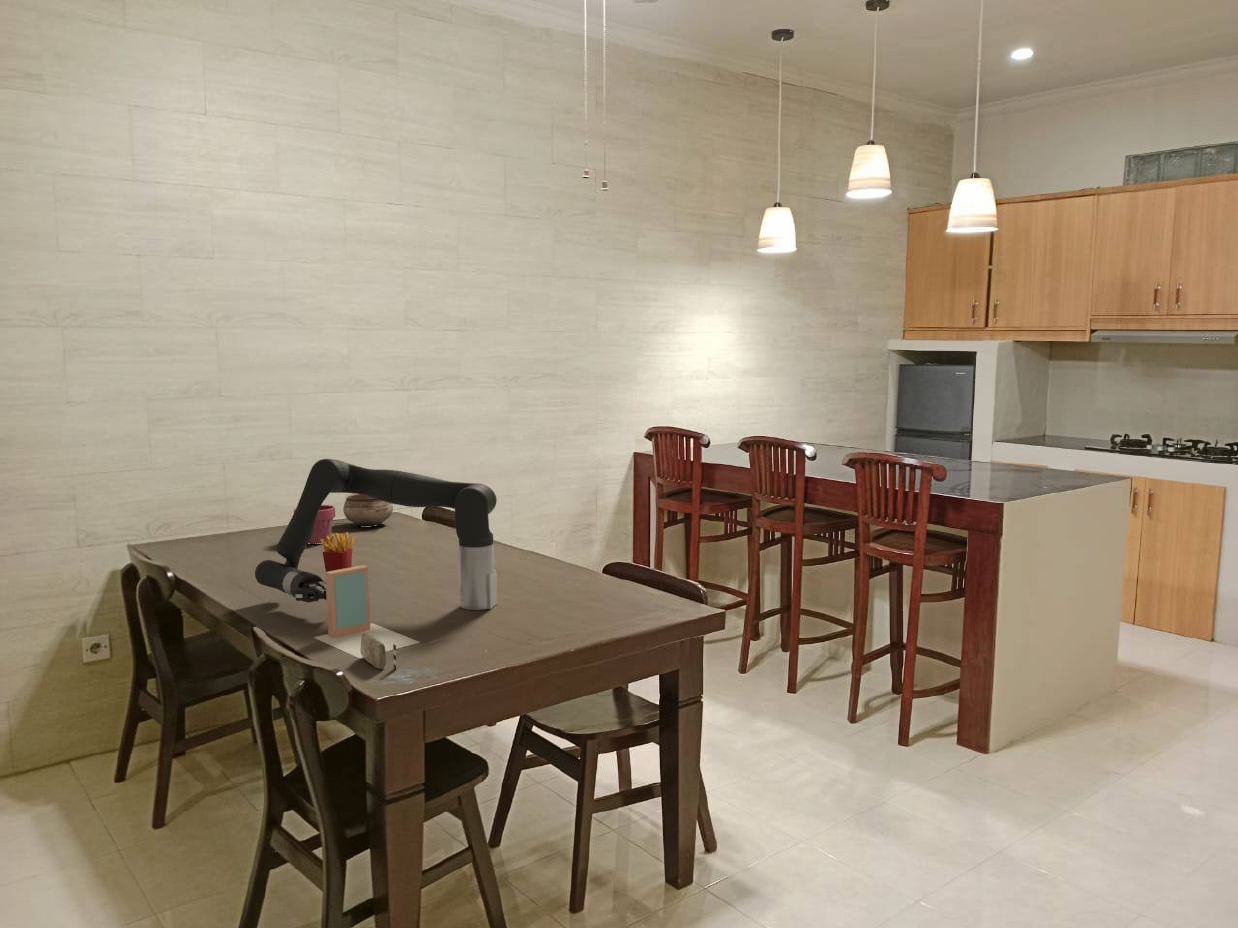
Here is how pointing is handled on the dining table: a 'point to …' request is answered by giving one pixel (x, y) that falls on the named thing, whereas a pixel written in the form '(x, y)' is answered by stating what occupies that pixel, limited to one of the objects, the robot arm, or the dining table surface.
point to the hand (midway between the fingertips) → (335, 597)
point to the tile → (347, 601)
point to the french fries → (337, 552)
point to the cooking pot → (366, 510)
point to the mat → (383, 635)
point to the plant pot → (322, 524)
